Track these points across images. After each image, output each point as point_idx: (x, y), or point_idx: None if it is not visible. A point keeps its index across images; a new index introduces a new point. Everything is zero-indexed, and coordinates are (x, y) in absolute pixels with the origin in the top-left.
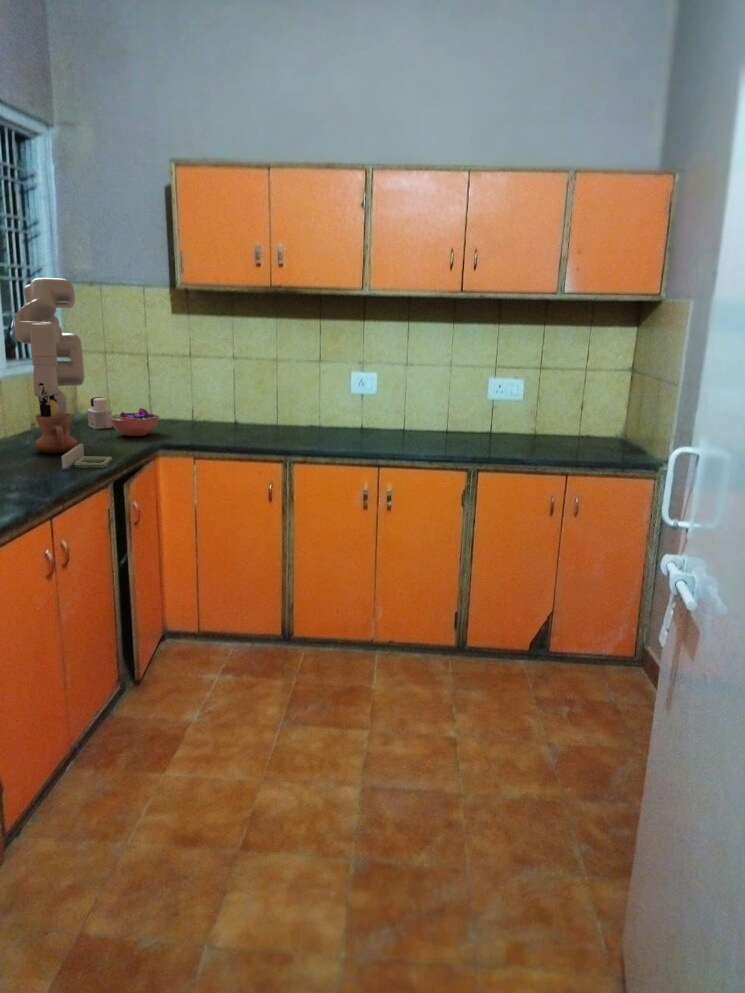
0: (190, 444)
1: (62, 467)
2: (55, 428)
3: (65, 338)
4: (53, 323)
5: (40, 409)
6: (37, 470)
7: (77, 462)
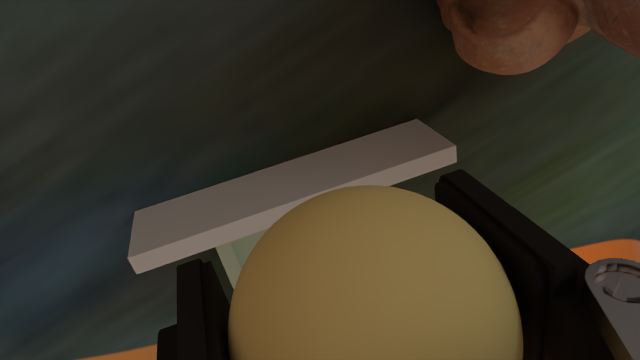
0: None
1: (133, 221)
2: (538, 11)
3: None
4: None
5: (177, 343)
6: (73, 90)
7: (227, 243)
